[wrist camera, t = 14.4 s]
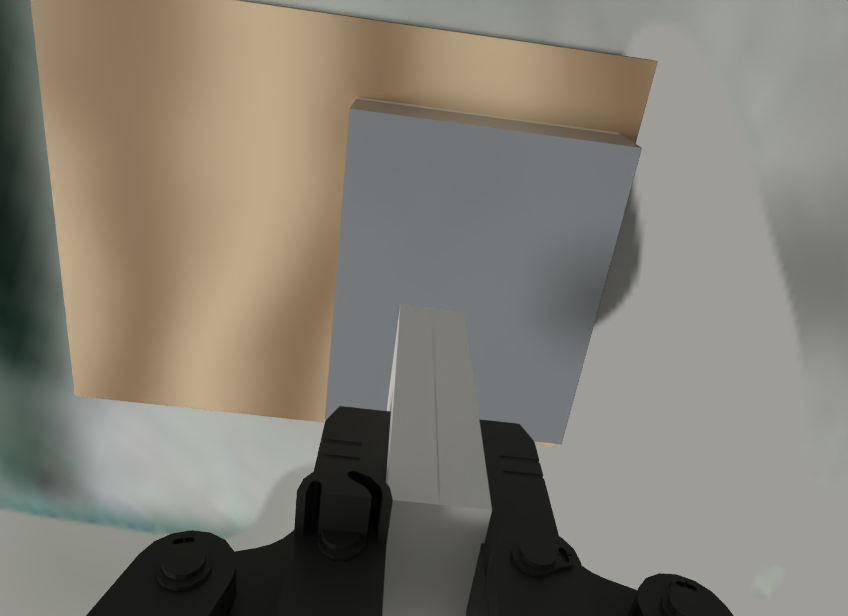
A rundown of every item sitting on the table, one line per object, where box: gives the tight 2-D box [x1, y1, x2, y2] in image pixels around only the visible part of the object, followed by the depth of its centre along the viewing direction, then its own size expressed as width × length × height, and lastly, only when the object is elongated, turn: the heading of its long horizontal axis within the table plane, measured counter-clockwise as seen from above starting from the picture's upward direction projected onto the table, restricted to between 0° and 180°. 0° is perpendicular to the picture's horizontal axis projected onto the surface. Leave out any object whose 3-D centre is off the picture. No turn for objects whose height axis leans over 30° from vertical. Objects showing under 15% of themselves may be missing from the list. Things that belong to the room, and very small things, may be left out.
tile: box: [325, 97, 642, 444], centre depth 21 cm, size 2×10×8 cm
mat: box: [30, 0, 657, 447], centre depth 22 cm, size 18×14×1 cm
